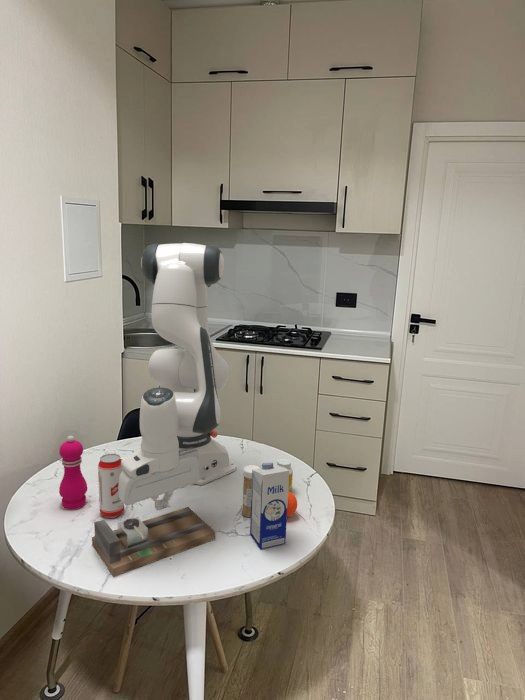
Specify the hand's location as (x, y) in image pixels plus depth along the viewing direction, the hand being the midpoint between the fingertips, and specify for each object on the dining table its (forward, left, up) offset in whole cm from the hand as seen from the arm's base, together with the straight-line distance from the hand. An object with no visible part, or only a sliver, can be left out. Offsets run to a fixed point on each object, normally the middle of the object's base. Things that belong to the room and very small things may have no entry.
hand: (161, 507), depth 129 cm
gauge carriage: (+8, +2, -6) cm, 10 cm away
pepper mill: (+13, -27, -9) cm, 32 cm away
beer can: (+6, -17, -9) cm, 20 cm away
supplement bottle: (-40, -2, -9) cm, 41 cm away
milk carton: (-22, +15, -9) cm, 28 cm away
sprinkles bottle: (-25, +3, -9) cm, 26 cm away
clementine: (-32, +9, -9) cm, 34 cm away
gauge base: (+2, +1, -8) cm, 9 cm away
